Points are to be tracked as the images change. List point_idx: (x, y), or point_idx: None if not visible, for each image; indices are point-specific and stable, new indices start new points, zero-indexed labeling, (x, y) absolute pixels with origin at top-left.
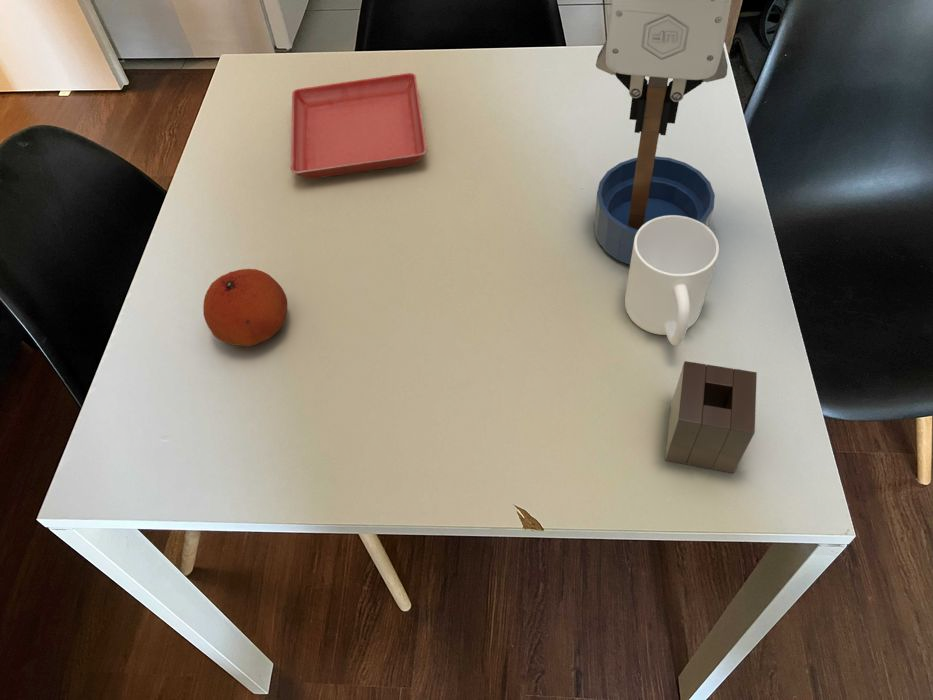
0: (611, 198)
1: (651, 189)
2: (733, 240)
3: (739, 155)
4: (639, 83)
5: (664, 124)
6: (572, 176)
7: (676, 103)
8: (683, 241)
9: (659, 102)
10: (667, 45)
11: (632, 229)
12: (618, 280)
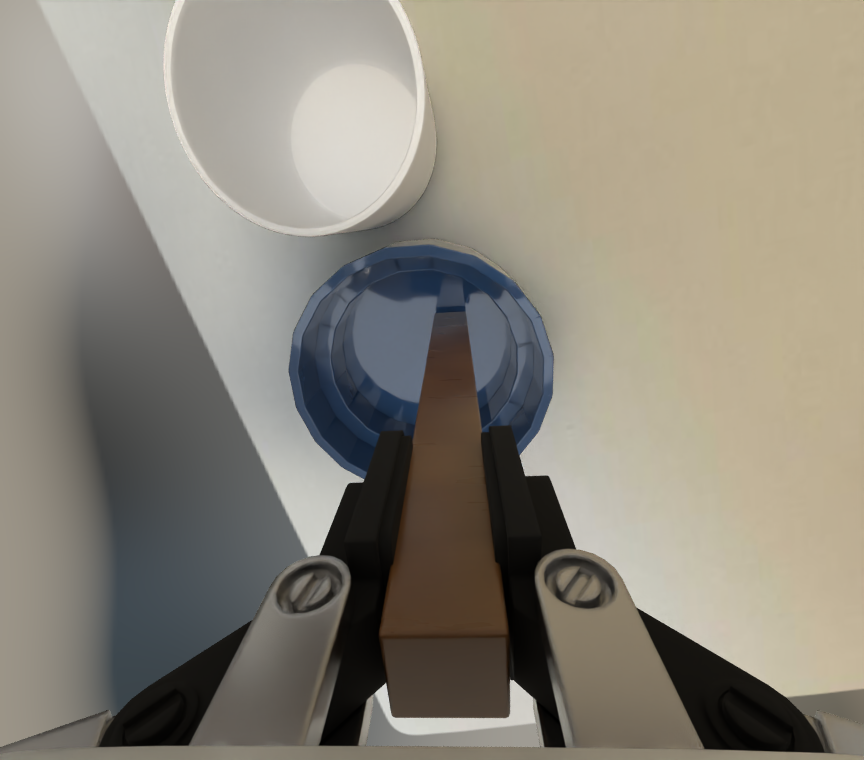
0: (513, 383)
1: None
2: (275, 361)
3: (315, 548)
4: (581, 652)
5: (384, 456)
6: (592, 454)
7: (329, 555)
8: (316, 224)
9: (418, 548)
10: None
11: (449, 255)
12: (459, 201)
